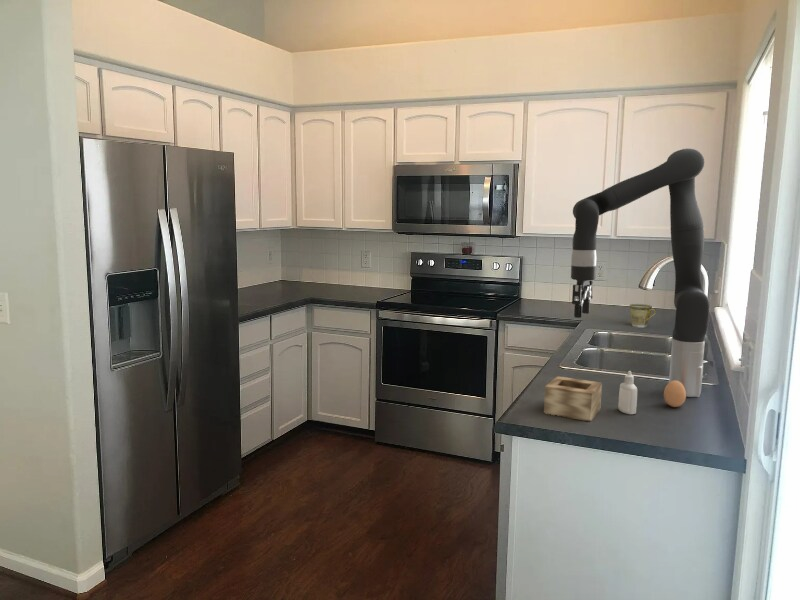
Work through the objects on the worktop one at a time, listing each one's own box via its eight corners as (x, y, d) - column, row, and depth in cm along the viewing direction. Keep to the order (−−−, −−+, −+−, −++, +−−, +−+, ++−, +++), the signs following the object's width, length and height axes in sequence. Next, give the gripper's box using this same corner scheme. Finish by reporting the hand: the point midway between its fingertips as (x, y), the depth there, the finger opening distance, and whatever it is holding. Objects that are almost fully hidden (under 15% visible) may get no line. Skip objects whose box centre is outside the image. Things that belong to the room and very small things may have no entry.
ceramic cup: (623, 325, 310) (625, 304, 308) (636, 323, 316) (637, 303, 314) (648, 330, 300) (649, 308, 298) (660, 327, 305) (662, 306, 304)
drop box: (600, 409, 187) (602, 382, 186) (590, 421, 177) (591, 393, 176) (556, 402, 194) (557, 376, 192) (543, 413, 183) (545, 386, 182)
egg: (659, 406, 190) (661, 380, 189) (666, 402, 195) (668, 376, 193) (681, 411, 186) (683, 384, 185) (687, 406, 191) (689, 380, 190)
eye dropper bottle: (620, 414, 183) (623, 373, 181) (617, 408, 189) (620, 368, 187) (636, 415, 183) (639, 374, 181) (633, 409, 188) (636, 369, 186)
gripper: (589, 266, 194) (587, 320, 196) (601, 262, 206) (599, 312, 209) (564, 265, 198) (563, 318, 200) (578, 261, 210) (576, 311, 212)
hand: (581, 315), depth 204 cm, fingers open, 8 cm apart
